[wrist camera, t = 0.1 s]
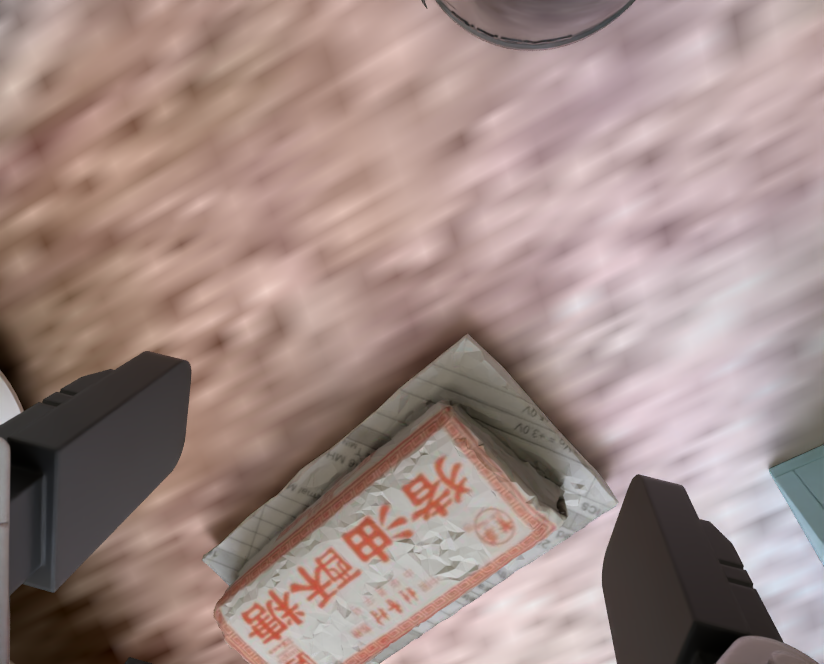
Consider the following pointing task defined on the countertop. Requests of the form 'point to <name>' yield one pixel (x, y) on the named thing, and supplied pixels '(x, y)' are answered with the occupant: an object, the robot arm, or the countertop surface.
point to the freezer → (805, 493)
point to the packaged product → (404, 520)
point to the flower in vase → (8, 401)
